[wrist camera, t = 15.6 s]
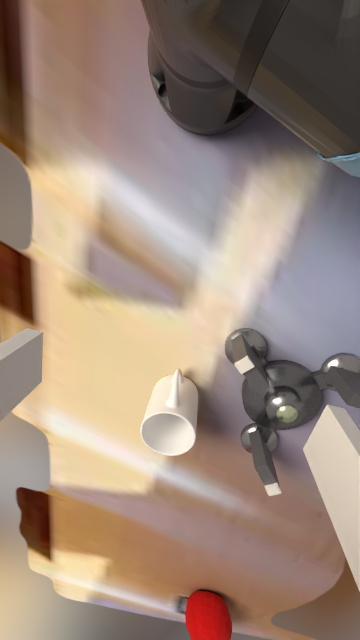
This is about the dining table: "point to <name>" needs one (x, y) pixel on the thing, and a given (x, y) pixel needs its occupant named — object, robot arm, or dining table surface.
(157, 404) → the mug
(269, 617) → the dining table surface
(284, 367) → the tribrach
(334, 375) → the knob
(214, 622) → the tomato
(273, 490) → the dark grey angled finger
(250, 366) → the knob
